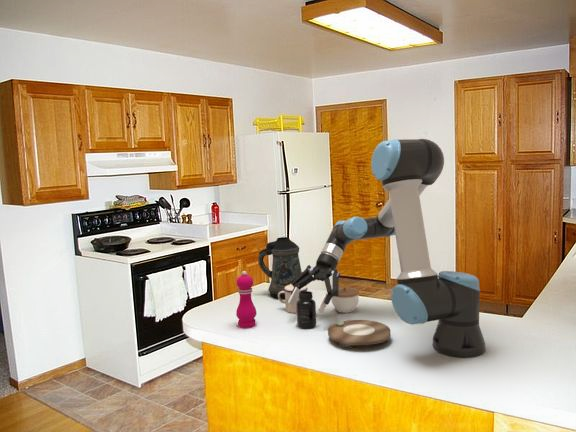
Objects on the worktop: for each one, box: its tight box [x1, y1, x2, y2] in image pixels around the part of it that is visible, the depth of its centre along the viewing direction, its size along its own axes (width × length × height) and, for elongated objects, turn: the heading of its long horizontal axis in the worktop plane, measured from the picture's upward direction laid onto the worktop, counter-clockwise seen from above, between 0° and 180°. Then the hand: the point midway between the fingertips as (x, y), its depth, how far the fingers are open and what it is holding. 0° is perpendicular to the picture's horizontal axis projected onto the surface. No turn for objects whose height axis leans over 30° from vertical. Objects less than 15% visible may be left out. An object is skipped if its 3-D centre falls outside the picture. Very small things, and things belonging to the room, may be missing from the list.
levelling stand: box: [327, 319, 391, 350], centre depth 161 cm, size 20×20×4 cm
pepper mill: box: [235, 270, 257, 329], centre depth 177 cm, size 7×7×20 cm
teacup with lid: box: [277, 283, 308, 314], centre depth 193 cm, size 12×9×12 cm
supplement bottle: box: [296, 290, 317, 330], centre depth 175 cm, size 7×7×12 cm
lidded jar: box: [330, 285, 360, 314], centre depth 190 cm, size 11×11×9 cm
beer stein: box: [257, 236, 303, 301], centre depth 213 cm, size 16×19×25 cm
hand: (304, 307), depth 175 cm, fingers open, 13 cm apart
